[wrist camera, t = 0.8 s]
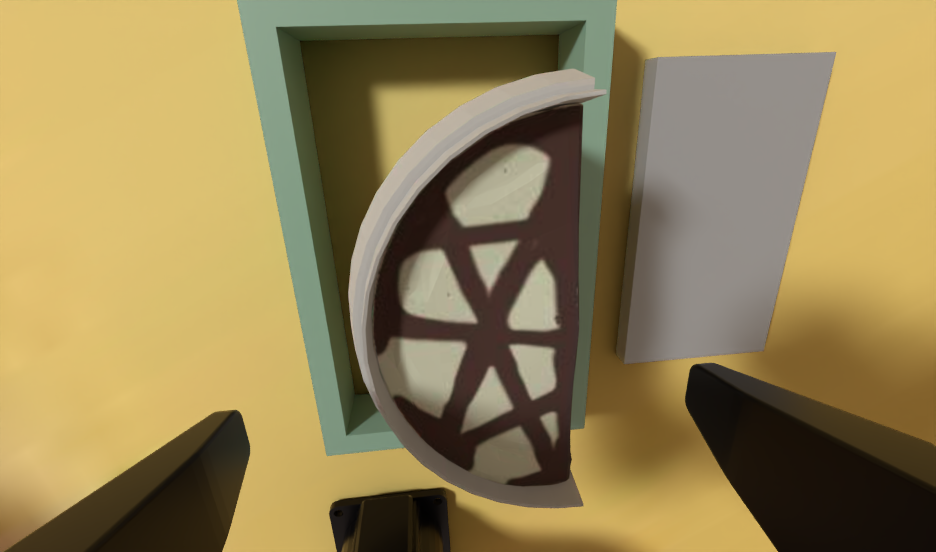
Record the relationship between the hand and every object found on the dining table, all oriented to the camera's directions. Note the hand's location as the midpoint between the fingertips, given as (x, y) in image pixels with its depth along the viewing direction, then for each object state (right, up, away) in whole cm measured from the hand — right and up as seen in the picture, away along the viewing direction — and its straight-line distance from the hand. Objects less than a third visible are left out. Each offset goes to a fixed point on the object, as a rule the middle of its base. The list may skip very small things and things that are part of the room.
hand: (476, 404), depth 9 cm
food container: (-1, +4, +11) cm, 12 cm away
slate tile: (+11, +5, +12) cm, 17 cm away
